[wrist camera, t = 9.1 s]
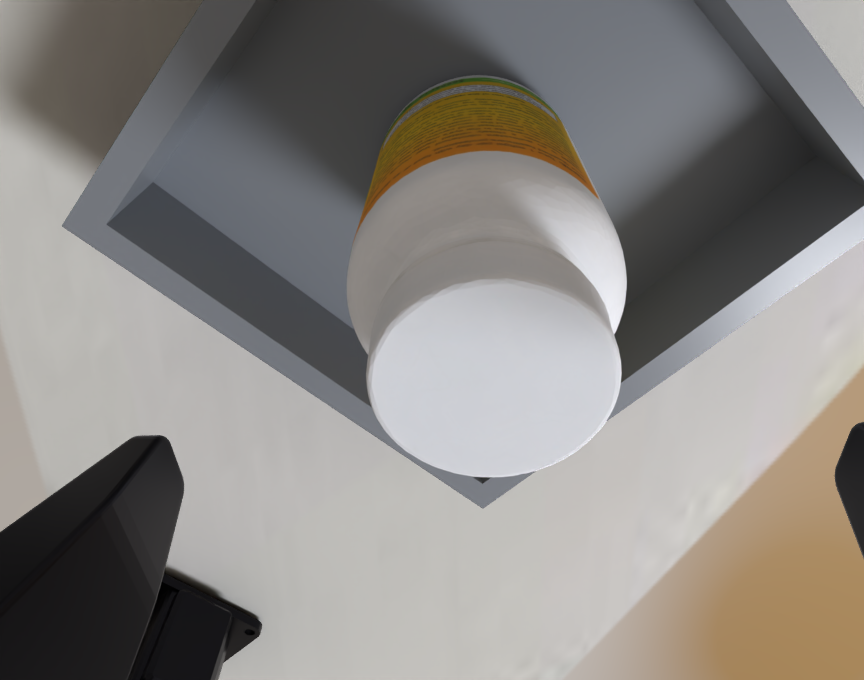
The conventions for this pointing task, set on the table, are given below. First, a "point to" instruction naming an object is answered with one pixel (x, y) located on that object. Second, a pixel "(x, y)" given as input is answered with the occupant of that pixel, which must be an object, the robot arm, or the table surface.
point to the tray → (519, 62)
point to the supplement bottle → (486, 283)
